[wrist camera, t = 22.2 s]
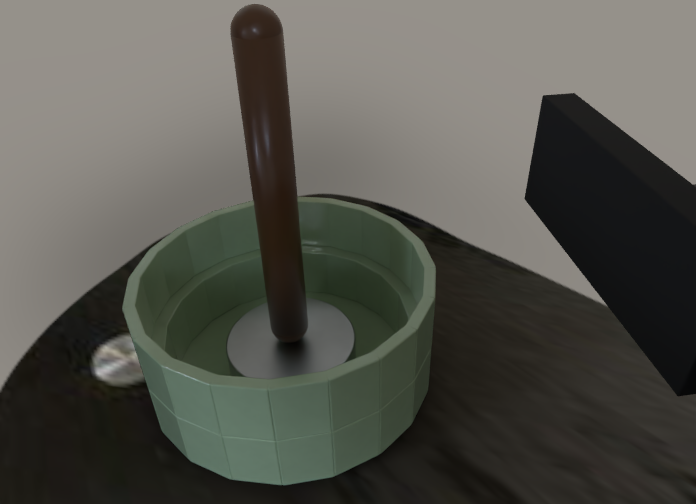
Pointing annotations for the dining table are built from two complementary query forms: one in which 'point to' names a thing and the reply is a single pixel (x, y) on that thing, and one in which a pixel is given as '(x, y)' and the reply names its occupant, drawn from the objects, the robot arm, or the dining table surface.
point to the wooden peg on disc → (277, 221)
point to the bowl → (293, 391)
